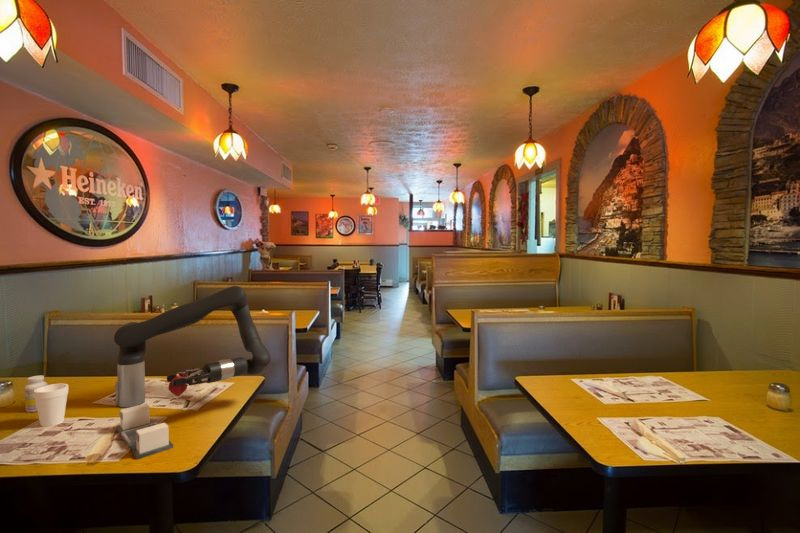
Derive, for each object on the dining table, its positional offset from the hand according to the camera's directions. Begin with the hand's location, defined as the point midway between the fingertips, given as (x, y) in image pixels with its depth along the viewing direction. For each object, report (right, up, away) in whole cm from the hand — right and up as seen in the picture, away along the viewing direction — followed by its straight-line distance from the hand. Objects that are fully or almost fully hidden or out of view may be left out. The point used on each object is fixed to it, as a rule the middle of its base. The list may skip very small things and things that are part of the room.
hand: (170, 381), depth 137 cm
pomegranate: (+2, -6, +2) cm, 7 cm away
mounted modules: (-6, -17, -5) cm, 19 cm away
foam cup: (-46, -17, +5) cm, 49 cm away
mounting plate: (-6, -18, -5) cm, 19 cm away
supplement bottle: (-62, -16, +16) cm, 66 cm away
